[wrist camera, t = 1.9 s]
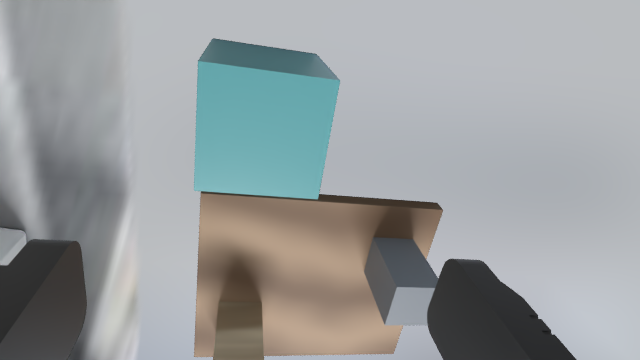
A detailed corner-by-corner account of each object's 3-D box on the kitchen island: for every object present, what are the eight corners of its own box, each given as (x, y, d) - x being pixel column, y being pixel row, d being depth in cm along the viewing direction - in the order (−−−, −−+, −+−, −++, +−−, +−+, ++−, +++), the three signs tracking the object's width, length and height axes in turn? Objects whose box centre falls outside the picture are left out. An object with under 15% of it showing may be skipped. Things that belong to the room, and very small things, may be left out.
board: (202, 185, 24) (189, 242, 19) (437, 202, 28) (480, 255, 23) (195, 346, 30) (184, 423, 25) (389, 344, 34) (415, 411, 28)
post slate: (373, 237, 27) (396, 287, 23) (413, 239, 28) (444, 288, 23) (363, 271, 28) (384, 325, 24) (402, 272, 29) (429, 325, 25)
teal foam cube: (212, 38, 21) (198, 60, 15) (316, 53, 22) (340, 80, 16) (208, 137, 23) (193, 190, 17) (301, 146, 24) (317, 199, 18)
